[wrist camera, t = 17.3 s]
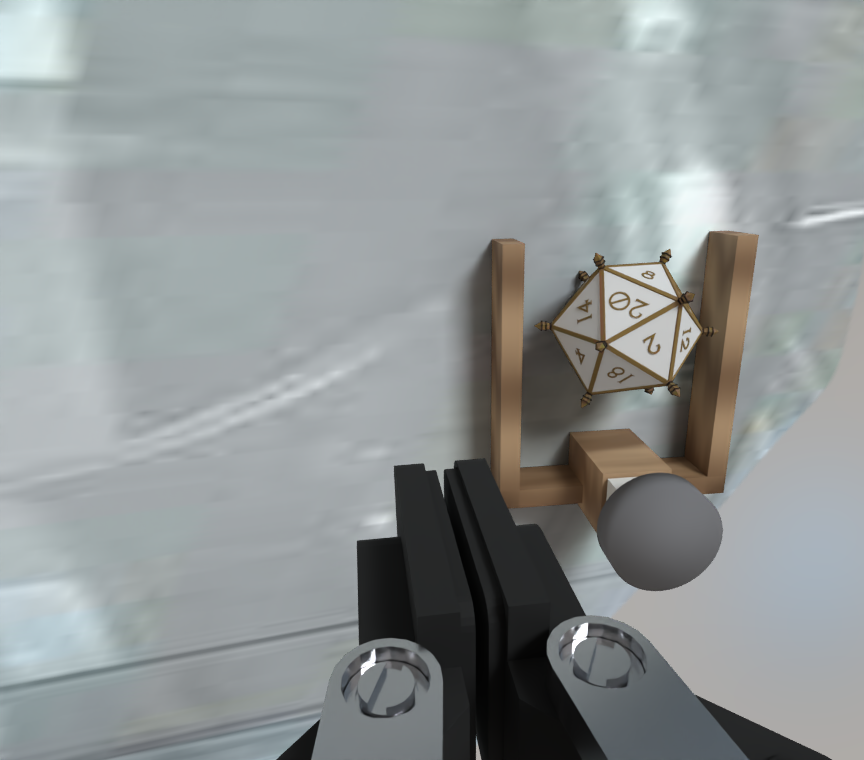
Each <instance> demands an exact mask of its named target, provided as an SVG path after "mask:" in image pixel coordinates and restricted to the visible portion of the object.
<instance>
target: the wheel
mask: <svg viewBox="0 0 864 760" xmlns="http://www.w3.org/2000/svg"><path fill="white" fill-rule="evenodd" d="M722 532H723V528H722V521H721V517H720V515H719V512H718V511H717V509H716V507H715V506H714V505H713V504H712V503H711V501H709V500H708V499H707V498H706V497H705V496H704V495H703V494H702V493H701V492H700V491H699V490H698V489H697V488H696V487H695V486H694V485H692V484H691V483H690V482H689V481H687V480H686V479H684V478H682V477H680V476H677V475H674V474H670V473H649V474H645V475H641V476H638V477H626V478H612V479H608V484H607V498H606V502H605V504H604V506H603V507H602V510H601V512H600V514H599V518H598V523H597V537H598V541H599V544H600V547H601V549H602V551H603V552H604V554H605V555H606V557H607V559H608V560H609V562H610V563H611V565H612V567H613V568H614V570H615V571H616V573H617V574H618V575H619V576H620V577H621V578H622V579H623V580H624V581H625V582H627V583H628V584H630V585H632V586H634V587H636V588H639V589H643V590H649V591H663V590H669V589H673V588H676V587H679V586H682V585H684V584H686V583H688V582H690V581H691V580H693V579H695V578H696V577H697V576H699V575H700V574H701V573H702V572H703V571H704V570H705V569H706V568H707V567H708V566H709V565H710V564H711V562H712V561H713V559H714V558H715V556H716V554H717V552H718V550H719V547H720V544H721V540H722Z"/></svg>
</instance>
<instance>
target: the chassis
mask: <svg viewBox="0 0 864 760" xmlns="http://www.w3.org/2000/svg"><path fill="white" fill-rule="evenodd" d="M758 236H759V235H755V234H748V233H741V232H734V231H709V240H708V249H707V258H706V267H705V276H704V285H703V294H702V302H701V311H700V320H699V323H700V325H701V327H702V328H706V327H709V328H710V327H713V328H715V329H716V330H718V331H719V332H718V333H716V334H714V335H713V336H712V337H711V336H706V335H704V334H702V335H701V336H700V338H699V339H698V341H697V347H696V356H695V365H694V373H693V382H692V391H691V400H690V409H689V418H688V427H687V436H686V445H685V453H684V457H671V458H659V457H658V456H657V455H656V454H655V453H654V452H653V451H652V450H651V449H650V448H649V447H648V446H647V445H646V444H645V443H644V442H643V441H642V440H641V439H640V438H638V437H637V436H636V435H635V434H634V433H633V432H632V431H631V430H630V429H617V430H601V431H585V432H570V440H569V460H568V465H554V466H539V467H525V468H520V445H521V397H522V350H523V302H524V255H525V244H524V243H522V242H519V241H517V240H515V239H492V342H491V472H492V475H493V477H494V479H495V481H496V483H497V486H498V488H499V490H500V492H501V494H502V497H503V499H504V501H505V503H506V505H507V508H508V509H509V508H523V507H537V506H550V505H564V504H577V503H578V505H579V507H580V508H581V510H582V511H583V513H584V514H585V516H586V517H587V519H588V520H589V522H590V524H591V525H592V527H593V528H594V530H595V531H596V533H597V523H598V518H599V514H600V512H601V510H602V507H603V506H604V504H605V502H606V498H607V484H608V479H612V478H626V477H638V476H641V475H645V474H649V473H670V474H674V475H677V476H680V477H682V478H684V479H686V480H687V481H689V482H690V483H691V484H692V485H694V486H695V487H696V488H697V489H698V490H699V491H700V492H701V493H702V494H712V493H723V491H724V484H725V477H726V469H727V462H728V455H729V447H730V440H731V433H732V426H733V418H734V411H735V404H736V396H737V389H738V382H739V375H740V367H741V360H742V353H743V345H744V338H745V331H746V324H747V316H748V309H749V302H750V294H751V287H752V280H753V273H754V265H755V258H756V251H757V243H758Z"/></svg>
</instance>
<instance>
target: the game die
mask: <svg viewBox="0 0 864 760" xmlns="http://www.w3.org/2000/svg"><path fill="white" fill-rule="evenodd" d="M671 257H672V256H671V250H670V249H669V250H667V251H665V252H662V255H661V256H660V261H659V262H652V263H637V264H622V265H606V266H605V265H604V262H605V260H604V259H603V258H604V256H601V255H599V254H597V253H595V257H594V259H593V260H594V263H595V265H596V266H597V267H598V269H597V270H596V271H595V272H594V273H593V274H592V275H591V276H590V277H589V276H588V274H587V273H586V272H585V271H584V272H583V271H579V279H581V281H584V283H583V284H582V285H581V287H580V288H579V289H578V290H577V292H576V293H575V294H574V295H573V297H572V298H571V299H570V300H569V302H568V303H567V304H566V305H565V307H564V308H563V309H562V310H561V312H560V313H559V314H558V315H557V317H556V318H555V319H554V320H553V322H552V323H547V321H545V322H542V321H541V322H540V323H538V324H537V325H535V327H537V328H538V329H540V330H541V331H542V330H545V331H546V330H548V329H550V330H551V331H552V332H553V334H554V336H555V338H556V339H557V341H558V343H559V345H560V346H561V348H562V350H563V351H564V353H565V355H566V357H567V358H568V360H569V362H570V364H571V365H572V367H573V369H574V370H575V372H576V374H577V376H578V377H579V379H580V381H581V383H582V384H583V386H584V388H585V390H586V391H587V393H586V394H585V395H583V398H582V399H580V400H581V408H582V407H584V406H586V405H588V404H589V405H590V401H592V400H591V397H592V395H596V394H604V393H613V392H621V391H629V390H637V389H645V391H644V392H646V393H649V394H651V395H652V393H653V391H654V387H662V386H668V390H669V391H670V393H671V394H672V395H676V396H678V397H680V387H678V386H677V384H674V383H673V380H674V378H675V377H676V375H677V373H678V372H679V370H680V368H681V367H682V365H683V364H684V362H685V360H686V359H687V357H688V355H689V354H690V352H691V351H692V349H693V347H694V346H695V344H696V342H697V341H698V339H699V338H700V336H701V335H702V334H704V335H706V336H711V337H712V336H713V335H714V334H716V333H718V332H719V331H718V330H716V329H715V328H713V327H710V328H709V327H706V328H702V327H701V325H700V323H699V322H698V320H697V318H696V316H695V315H694V313H693V311H692V310H691V308H690V306H689V305H688V303H689V302H693V298H694V295H695V294H693V293H689V292H688V291H687V292H686V293H685V294H684V293H683V294H682V293H681V291H680V289H679V287H678V286H677V284H676V282H675V281H674V279H673V277H672V276H671V274H670V272H669V270H668V269H667V267H666V265H665V263H666V262H668V261H669V258H671Z"/></svg>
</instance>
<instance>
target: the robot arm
mask: <svg viewBox="0 0 864 760" xmlns="http://www.w3.org/2000/svg"><path fill="white" fill-rule="evenodd" d="M394 480H395V499H396V518H397V537H392V538H381V539H371V540H360V541H357V568H358V616H359V646H357V647H356V648H354V649H353V650H351V651H350V652H348V653H347V654H345V655H344V656H343V658H342V659H341V660H340V661H339V662H338V663H337V665H336V666H335V667H334V670H333V672H332V674H331V677H330V679H329V683H328V687H327V692H326V696H325V701H324V705H323V710H322V714H321V719H320V720H319V721H318V722H316V723H315V724H314V725H313V726H312V727H311V728H310V729H309V730H308V731H307V732H306V733H305V734H304V735H302V736H301V737H300V738H299V739H298V740H297V741H296V742H295V743H294V744H293V745H292V746H291V747H289V748H288V749H287V750H286V751H285V752H284V753H283V754H282V755H281V756H280V757H279V758H278V759H277V760H476V737H477V741H478V746H479V750H480V755H481V759H482V760H832V759H830V758H828V757H826V756H825V755H822V754H820V753H818V752H816V751H814V750H812V749H810V748H808V747H805V746H803V745H801V744H799V743H797V742H795V741H793V740H790V739H788V738H786V737H784V736H782V735H780V734H778V733H775V732H773V731H771V730H769V729H767V728H765V727H763V726H761V725H758V724H756V723H754V722H752V721H750V720H748V719H746V718H743V717H741V716H739V715H737V714H735V713H733V712H731V711H729V710H726V709H724V708H722V707H720V706H717V705H716V704H714V703H712V702H709V701H707V700H705V699H703V698H701V697H699V696H697V695H694V693H692V691H691V690H690V689H689V688H688V686H687V685H686V684H685V683H684V682H683V680H682V679H681V678H680V677H679V676H678V674H677V673H676V672H675V671H674V670H673V668H672V667H671V666H670V665H669V664H668V662H667V661H666V660H665V659H664V658H663V657H662V655H661V654H660V653H659V652H658V651H657V649H656V648H655V647H654V646H653V645H652V643H650V641H649V640H648V639H646V638H645V637H644V636H643V635H642V634H641V633H640V632H639V631H638V630H636V629H634V628H632V627H631V626H629V625H627V624H625V623H624V622H621V621H618V620H614V619H611V618H608V617H601V616H592V615H589V616H586V615H585V613H584V611H583V609H582V607H581V605H580V603H579V601H578V599H577V597H576V595H575V593H574V592H573V590H572V588H571V586H570V584H569V582H568V580H567V578H566V576H565V574H564V572H563V570H562V569H561V567H560V565H559V563H558V561H557V559H556V557H555V555H554V553H553V551H552V549H551V547H550V545H549V544H548V542H547V540H546V538H545V536H544V534H543V532H542V530H541V529H540V527H539V526H538V525H537V524H528V525H517V526H516V525H515V523H514V521H513V519H512V516H511V514H510V512H509V510H508V508H507V505H506V503H505V501H504V499H503V497H502V494H501V492H500V490H499V488H498V486H497V483H496V481H495V479H494V477H493V475H492V472H491V470H490V468H489V466H488V464H487V462H486V460H485V458H483V459H471V460H459V461H455V463H454V469H445V470H444V497H443V494H442V490H441V486H440V483H439V479H438V476H437V472H436V470H432V471H426V470H425V466H424V464H411V465H398V466H394Z"/></svg>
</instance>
